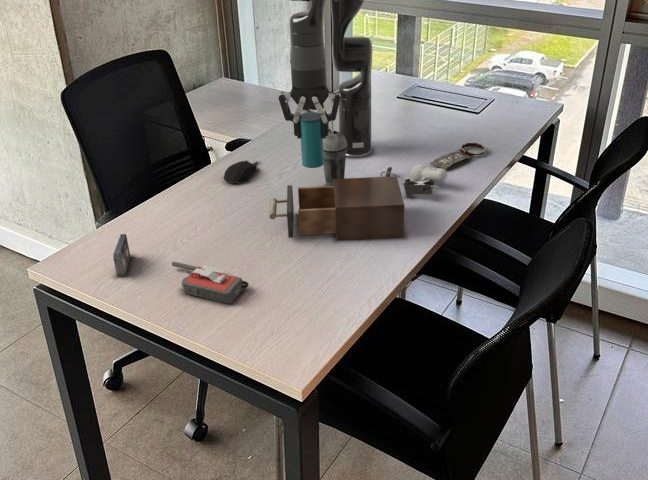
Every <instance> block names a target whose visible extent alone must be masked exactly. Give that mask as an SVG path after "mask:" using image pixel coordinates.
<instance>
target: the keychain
mask: <svg viewBox="0 0 648 480" xmlns="http://www.w3.org/2000/svg"><path fill="white" fill-rule="evenodd" d="M459 146H460V147H459V149H458V150H459V151H458V150H457V151H451V152H449V153H445V154H443V155H441V156H439V157H437V158H435V159H434V160H432V161H431V162H430V164H431V165H433V166H436V167H437V168H441V169H445V170H450V169H451V170H452V169H454V168H457V167H459V166H461V165H463V164H466V163H467V162H468V161H470V159H472V158H473V157H475V158H476V157H481V156H484V155H485V154H486V153H487V146H485V145H484V144H483V143H479V142H476V141H475V142H474V141H473V142H465V143H462V144H461V145H459ZM467 148H478V149H481V150H480V151H468V150H467Z"/></svg>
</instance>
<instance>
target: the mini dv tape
mask: <svg viewBox="0 0 648 480" xmlns="http://www.w3.org/2000/svg"><path fill="white" fill-rule="evenodd" d="M119 234H120V235H119V237H118V240H117V243H116V245H115V249H114V252H113V255H112V258H113V262H114V268H115V272H116V276H117V277H125V275H126V272H127V270H128V266H129V263H130V260H131V251H130V247H129V241H128V237H127V234H126V233H122V234H121V233H119Z"/></svg>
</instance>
